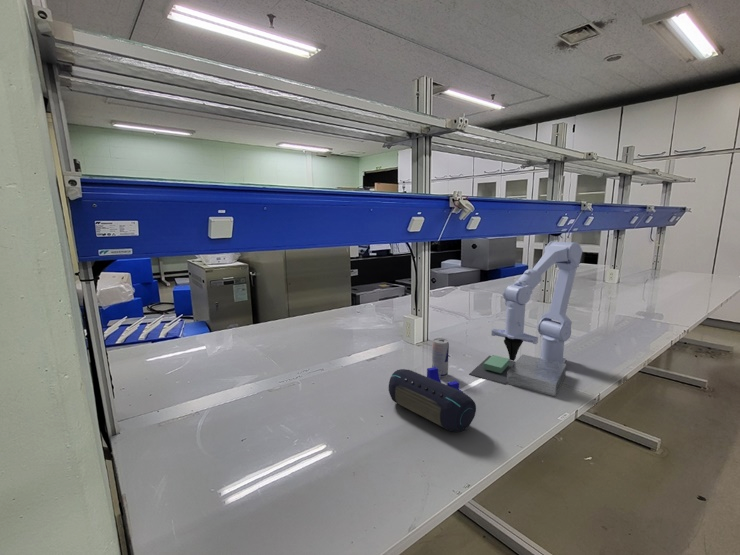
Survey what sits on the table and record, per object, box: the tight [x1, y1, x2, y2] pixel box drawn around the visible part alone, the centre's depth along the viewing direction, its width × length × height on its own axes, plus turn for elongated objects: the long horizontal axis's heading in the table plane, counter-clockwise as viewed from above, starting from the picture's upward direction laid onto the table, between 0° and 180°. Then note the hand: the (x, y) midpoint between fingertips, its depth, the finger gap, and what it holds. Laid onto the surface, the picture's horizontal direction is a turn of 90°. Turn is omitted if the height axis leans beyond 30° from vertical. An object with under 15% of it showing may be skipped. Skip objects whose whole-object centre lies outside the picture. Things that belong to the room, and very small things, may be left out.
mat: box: [468, 355, 516, 385], centre depth 123 cm, size 20×12×1 cm, turn 142°
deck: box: [506, 354, 567, 397], centre depth 115 cm, size 18×14×4 cm
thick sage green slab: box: [484, 354, 510, 373], centre depth 123 cm, size 9×6×3 cm, turn 142°
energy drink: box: [431, 338, 450, 379], centre depth 118 cm, size 5×5×12 cm
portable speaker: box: [388, 368, 477, 433], centre depth 94 cm, size 25×10×10 cm, turn 42°
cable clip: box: [426, 366, 464, 393], centre depth 106 cm, size 12×4×6 cm, turn 24°
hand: (512, 359), depth 119 cm, fingers closed
